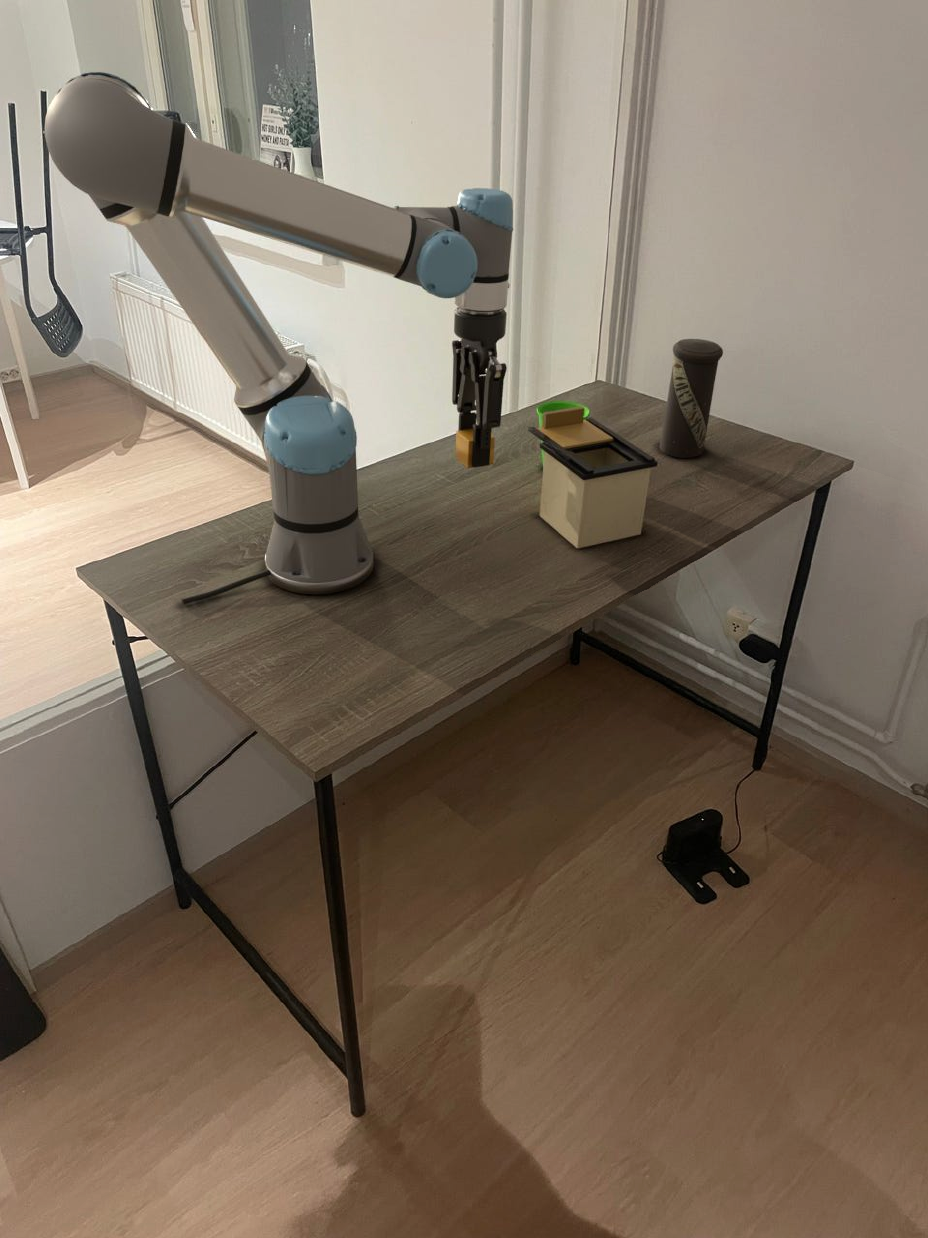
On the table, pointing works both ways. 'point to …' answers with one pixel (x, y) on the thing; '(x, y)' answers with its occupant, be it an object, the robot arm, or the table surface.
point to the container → (689, 397)
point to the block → (469, 447)
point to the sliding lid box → (594, 488)
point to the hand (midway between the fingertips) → (473, 458)
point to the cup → (557, 406)
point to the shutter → (571, 428)
